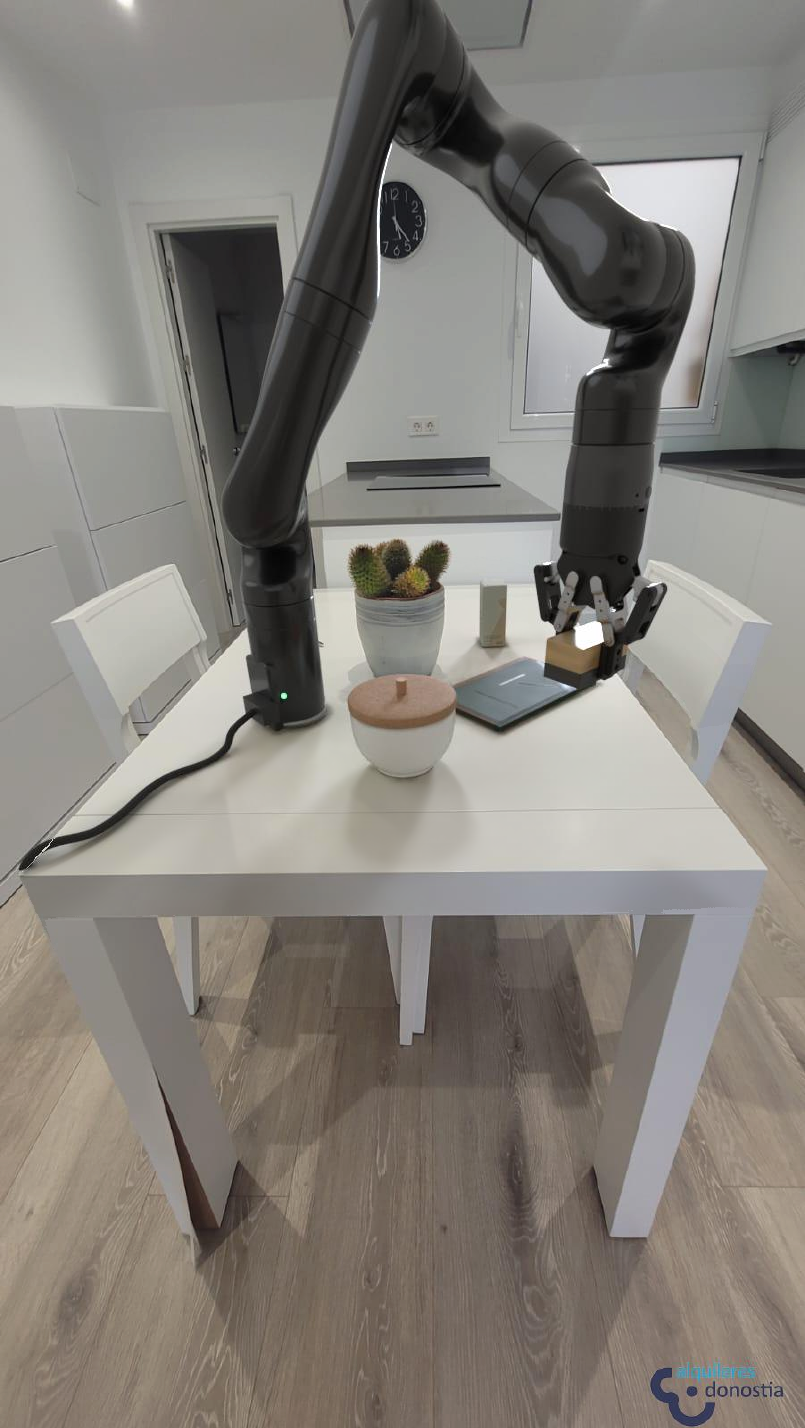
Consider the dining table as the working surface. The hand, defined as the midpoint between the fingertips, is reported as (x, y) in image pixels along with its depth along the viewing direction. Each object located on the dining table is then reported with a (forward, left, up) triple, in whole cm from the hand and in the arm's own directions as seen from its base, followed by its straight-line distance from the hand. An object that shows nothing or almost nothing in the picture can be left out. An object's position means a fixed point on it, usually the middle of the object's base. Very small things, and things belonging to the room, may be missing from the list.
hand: (584, 669), depth 62 cm
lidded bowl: (-12, +16, -14) cm, 24 cm away
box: (+27, +37, -14) cm, 48 cm away
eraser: (0, 0, 0) cm, 0 cm away
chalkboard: (+13, +20, -13) cm, 28 cm away
